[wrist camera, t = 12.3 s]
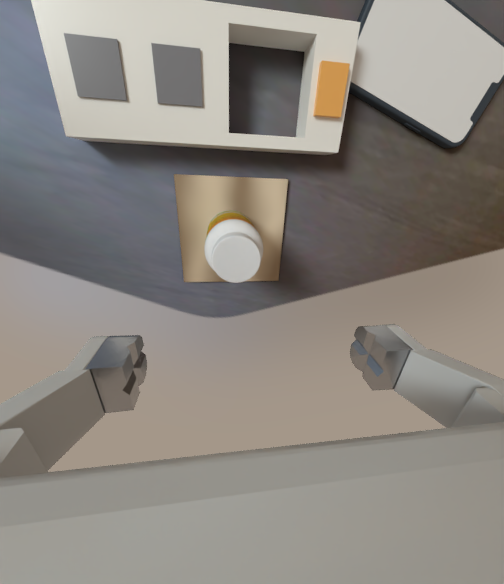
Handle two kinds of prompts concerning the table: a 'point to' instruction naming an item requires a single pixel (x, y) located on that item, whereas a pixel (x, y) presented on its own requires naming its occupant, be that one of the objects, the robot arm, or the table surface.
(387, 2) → the phone case
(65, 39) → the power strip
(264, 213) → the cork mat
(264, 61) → the table surface
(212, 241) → the supplement bottle
